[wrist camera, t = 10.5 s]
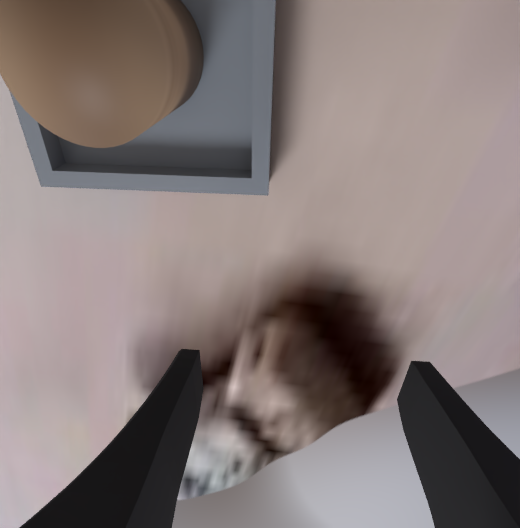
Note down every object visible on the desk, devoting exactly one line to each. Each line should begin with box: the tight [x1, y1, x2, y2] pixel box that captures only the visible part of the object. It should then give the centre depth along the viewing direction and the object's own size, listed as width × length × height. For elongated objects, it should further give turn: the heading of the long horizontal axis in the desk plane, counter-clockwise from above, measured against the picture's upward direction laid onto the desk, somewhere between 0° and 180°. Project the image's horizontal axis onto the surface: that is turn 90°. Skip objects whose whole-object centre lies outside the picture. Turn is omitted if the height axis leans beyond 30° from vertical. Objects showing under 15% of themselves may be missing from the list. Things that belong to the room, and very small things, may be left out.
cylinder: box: [0, 0, 204, 148], centre depth 12 cm, size 5×5×6 cm
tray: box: [9, 0, 276, 195], centre depth 15 cm, size 11×11×2 cm
